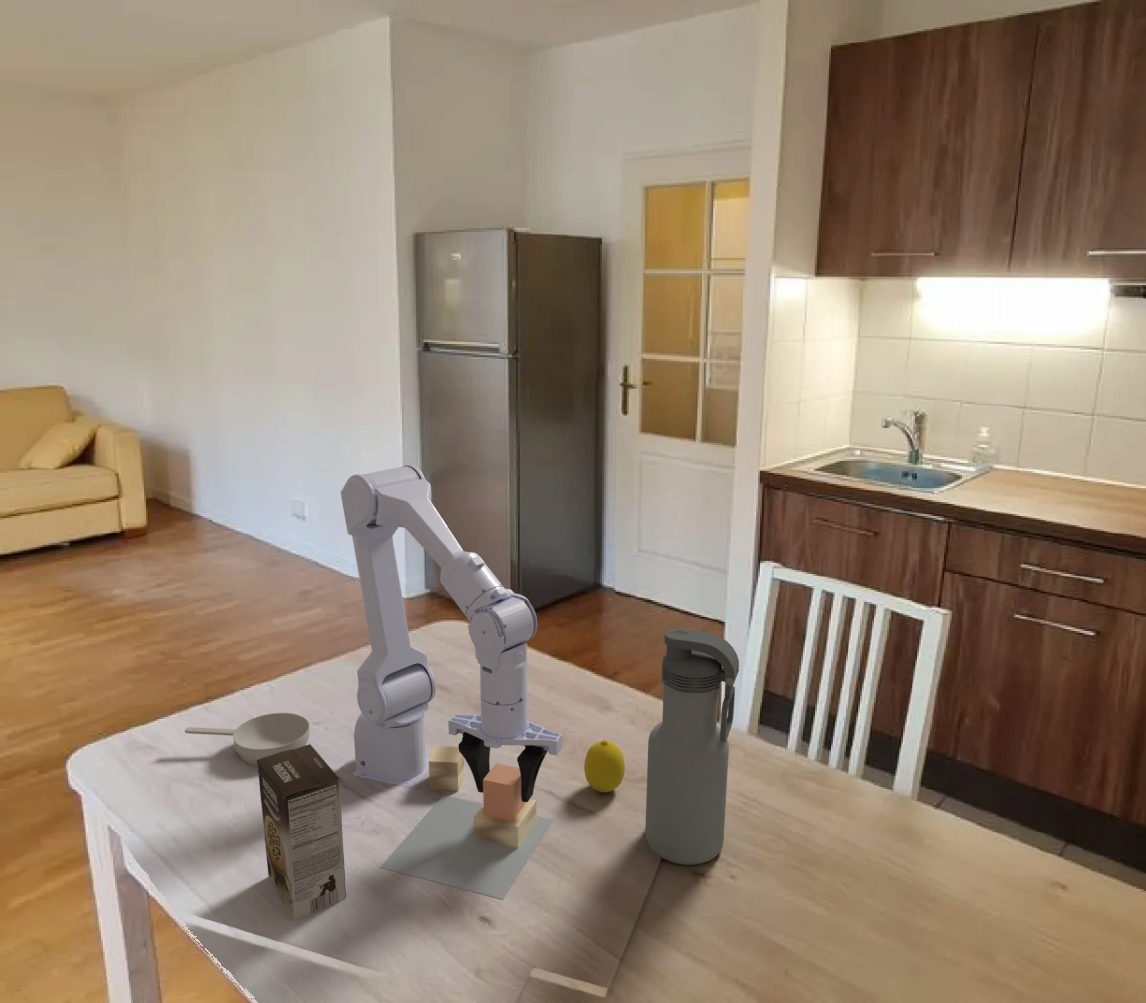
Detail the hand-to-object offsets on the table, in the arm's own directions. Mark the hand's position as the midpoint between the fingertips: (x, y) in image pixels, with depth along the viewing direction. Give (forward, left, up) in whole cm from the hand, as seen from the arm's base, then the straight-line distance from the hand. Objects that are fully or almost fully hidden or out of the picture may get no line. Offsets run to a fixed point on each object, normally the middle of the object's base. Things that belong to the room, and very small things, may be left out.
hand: (505, 793), depth 111 cm
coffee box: (-17, -18, -6) cm, 25 cm away
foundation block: (0, 0, -5) cm, 5 cm away
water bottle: (+22, +6, -6) cm, 24 cm away
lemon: (+9, +13, -6) cm, 17 cm away
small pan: (-44, +5, -6) cm, 45 cm away
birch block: (-12, +7, -6) cm, 15 cm away
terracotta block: (0, 0, -2) cm, 2 cm away
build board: (-3, -4, -6) cm, 8 cm away
